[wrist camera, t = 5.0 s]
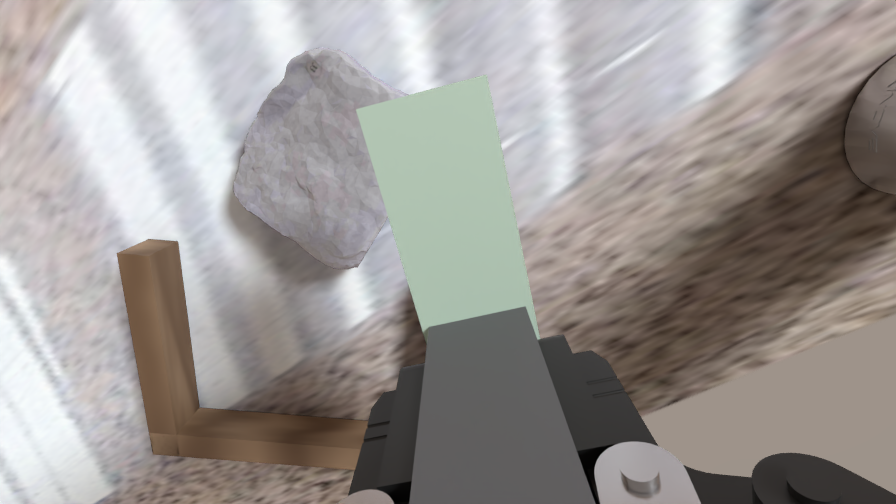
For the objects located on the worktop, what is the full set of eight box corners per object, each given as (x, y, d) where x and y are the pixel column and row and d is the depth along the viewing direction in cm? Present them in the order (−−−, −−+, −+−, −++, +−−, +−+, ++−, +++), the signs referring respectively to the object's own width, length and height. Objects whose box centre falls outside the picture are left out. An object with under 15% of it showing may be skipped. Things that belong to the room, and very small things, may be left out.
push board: (388, 107, 14) (144, 120, 3) (475, 84, 14) (564, 5, 3) (479, 436, 19) (517, 943, 7) (547, 423, 19) (694, 929, 7)
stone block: (254, 193, 31) (370, 270, 30) (206, 198, 26) (342, 289, 26) (329, 37, 28) (459, 120, 27) (290, 10, 23) (446, 110, 23)
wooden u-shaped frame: (464, 265, 30) (465, 282, 27) (446, 446, 35) (445, 476, 32) (149, 239, 30) (116, 253, 27) (177, 425, 35) (153, 454, 32)
